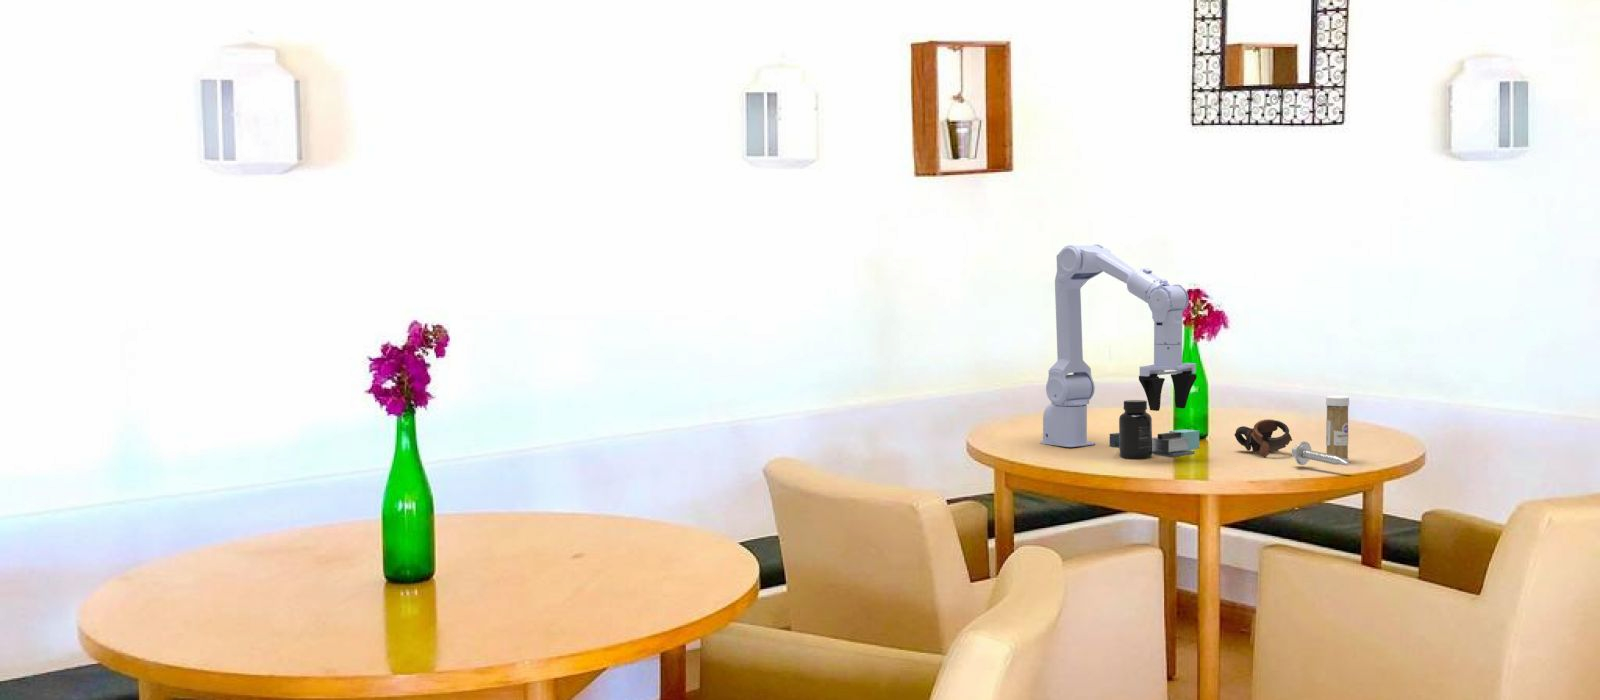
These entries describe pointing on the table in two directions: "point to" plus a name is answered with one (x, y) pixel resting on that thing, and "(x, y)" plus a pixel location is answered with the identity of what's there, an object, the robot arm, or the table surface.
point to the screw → (1314, 455)
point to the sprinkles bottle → (1337, 425)
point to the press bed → (1115, 443)
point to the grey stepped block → (1169, 442)
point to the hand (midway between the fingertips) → (1167, 409)
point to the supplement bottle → (1135, 431)
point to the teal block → (1190, 437)
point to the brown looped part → (1263, 436)
